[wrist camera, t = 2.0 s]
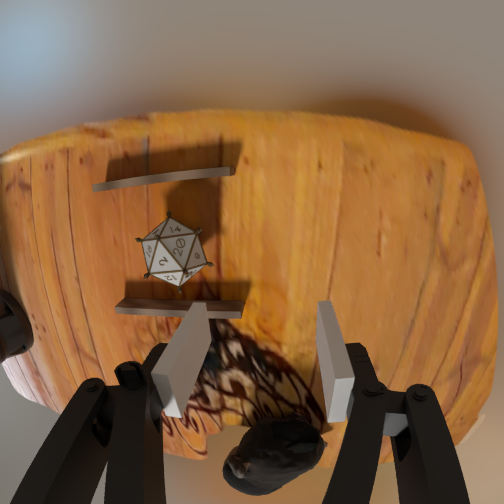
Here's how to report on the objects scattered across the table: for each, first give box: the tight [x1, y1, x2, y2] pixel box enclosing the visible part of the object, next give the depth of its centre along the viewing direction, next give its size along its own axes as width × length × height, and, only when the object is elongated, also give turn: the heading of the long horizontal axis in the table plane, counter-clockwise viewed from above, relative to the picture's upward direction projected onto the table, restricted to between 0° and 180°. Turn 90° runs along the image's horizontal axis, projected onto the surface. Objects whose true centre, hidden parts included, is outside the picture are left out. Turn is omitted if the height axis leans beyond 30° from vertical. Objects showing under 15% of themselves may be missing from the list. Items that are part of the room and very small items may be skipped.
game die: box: [135, 209, 214, 294], centre depth 32 cm, size 9×8×10 cm
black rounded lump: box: [223, 412, 327, 496], centre depth 40 cm, size 20×21×13 cm
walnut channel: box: [92, 167, 244, 319], centre depth 34 cm, size 18×18×3 cm
